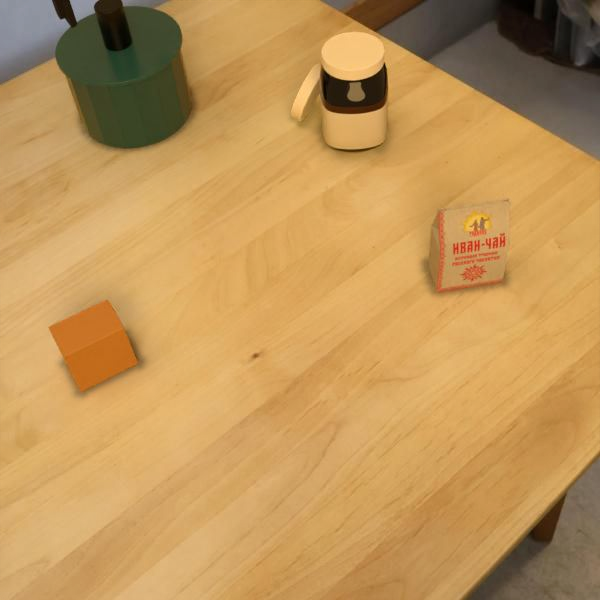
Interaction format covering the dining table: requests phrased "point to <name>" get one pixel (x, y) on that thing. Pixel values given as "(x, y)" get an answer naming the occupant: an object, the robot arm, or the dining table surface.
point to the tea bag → (469, 245)
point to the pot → (135, 108)
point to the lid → (118, 45)
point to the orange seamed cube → (94, 345)
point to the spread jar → (348, 92)
